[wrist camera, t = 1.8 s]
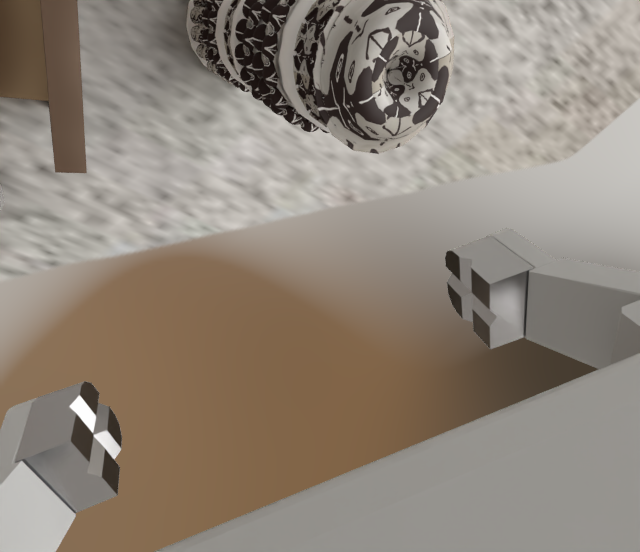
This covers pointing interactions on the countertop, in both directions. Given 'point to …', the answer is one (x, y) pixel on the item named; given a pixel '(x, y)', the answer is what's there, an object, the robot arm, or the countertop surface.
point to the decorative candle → (333, 62)
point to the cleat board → (46, 69)
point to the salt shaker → (1, 197)
